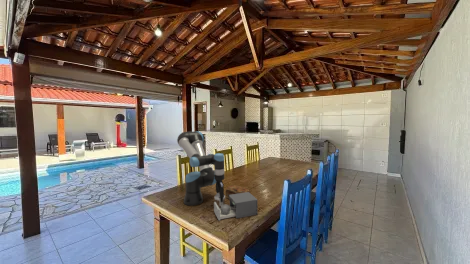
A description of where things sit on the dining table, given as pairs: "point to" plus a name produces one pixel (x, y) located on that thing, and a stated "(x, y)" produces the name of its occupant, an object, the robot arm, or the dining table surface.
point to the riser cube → (218, 203)
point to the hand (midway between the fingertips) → (219, 203)
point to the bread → (235, 190)
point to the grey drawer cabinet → (243, 204)
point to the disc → (218, 197)
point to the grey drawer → (232, 213)
